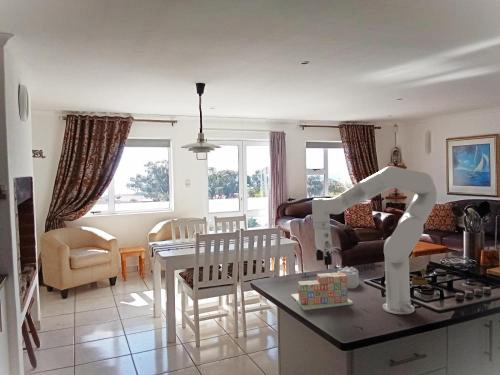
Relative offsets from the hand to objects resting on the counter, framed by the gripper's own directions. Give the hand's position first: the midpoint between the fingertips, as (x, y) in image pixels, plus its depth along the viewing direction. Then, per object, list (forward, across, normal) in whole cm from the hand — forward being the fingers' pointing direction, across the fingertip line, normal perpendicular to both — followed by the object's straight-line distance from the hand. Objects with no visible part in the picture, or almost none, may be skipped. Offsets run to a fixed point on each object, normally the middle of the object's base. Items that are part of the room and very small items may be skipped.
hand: (324, 262), depth 171 cm
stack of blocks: (+18, 0, +2) cm, 18 cm away
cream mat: (+19, +11, +1) cm, 22 cm away
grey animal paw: (+20, +24, -22) cm, 38 cm away
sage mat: (+19, 0, +1) cm, 19 cm away
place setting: (+21, +9, -56) cm, 60 cm away
